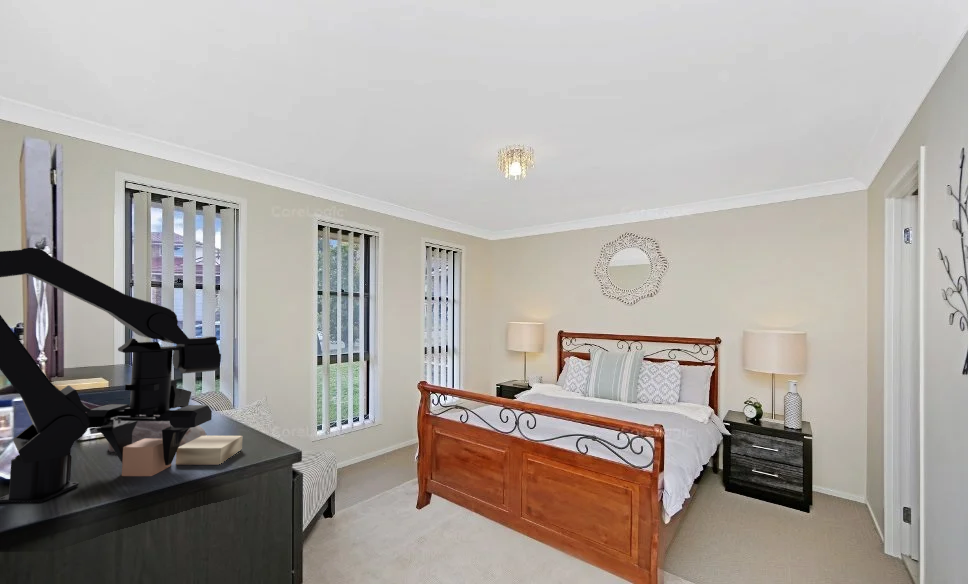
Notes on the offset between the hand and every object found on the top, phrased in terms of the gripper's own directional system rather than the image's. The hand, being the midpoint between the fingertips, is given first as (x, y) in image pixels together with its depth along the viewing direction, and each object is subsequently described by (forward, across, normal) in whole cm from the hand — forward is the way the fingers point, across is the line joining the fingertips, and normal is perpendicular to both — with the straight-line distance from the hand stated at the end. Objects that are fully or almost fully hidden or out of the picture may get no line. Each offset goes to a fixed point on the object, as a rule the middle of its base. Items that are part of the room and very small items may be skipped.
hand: (147, 464), depth 78 cm
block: (+1, 0, 0) cm, 1 cm away
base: (+1, -7, -7) cm, 10 cm away
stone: (+2, +8, -16) cm, 18 cm away
